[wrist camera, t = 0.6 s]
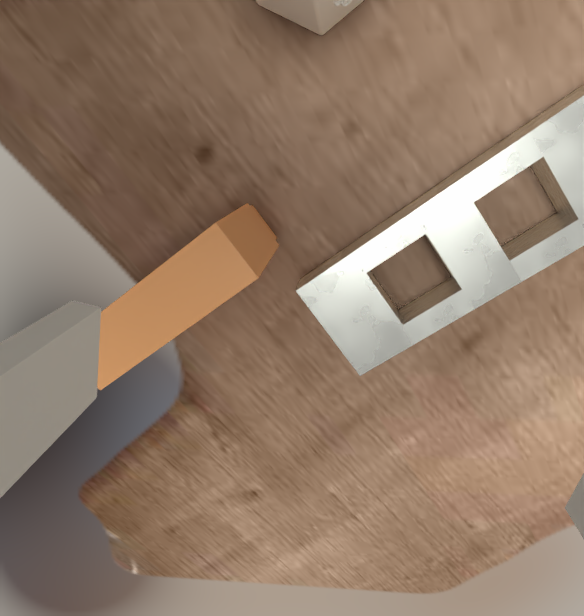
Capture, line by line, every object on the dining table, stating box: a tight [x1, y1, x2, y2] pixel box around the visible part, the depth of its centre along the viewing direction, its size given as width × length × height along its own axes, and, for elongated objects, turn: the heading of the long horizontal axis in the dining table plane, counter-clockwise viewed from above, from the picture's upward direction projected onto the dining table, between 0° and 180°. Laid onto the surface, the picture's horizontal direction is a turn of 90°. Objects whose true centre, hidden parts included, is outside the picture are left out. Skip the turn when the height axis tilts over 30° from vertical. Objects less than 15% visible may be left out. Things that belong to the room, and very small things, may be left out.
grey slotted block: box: [296, 85, 584, 376], centre depth 31 cm, size 8×22×3 cm, turn 127°
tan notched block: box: [97, 203, 279, 390], centre depth 30 cm, size 4×12×11 cm, turn 127°
